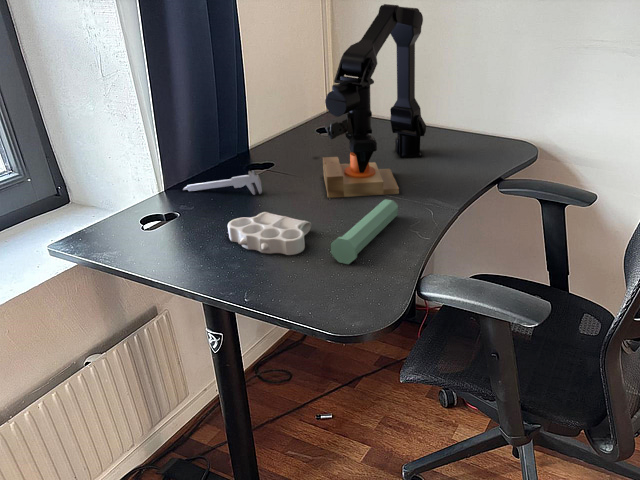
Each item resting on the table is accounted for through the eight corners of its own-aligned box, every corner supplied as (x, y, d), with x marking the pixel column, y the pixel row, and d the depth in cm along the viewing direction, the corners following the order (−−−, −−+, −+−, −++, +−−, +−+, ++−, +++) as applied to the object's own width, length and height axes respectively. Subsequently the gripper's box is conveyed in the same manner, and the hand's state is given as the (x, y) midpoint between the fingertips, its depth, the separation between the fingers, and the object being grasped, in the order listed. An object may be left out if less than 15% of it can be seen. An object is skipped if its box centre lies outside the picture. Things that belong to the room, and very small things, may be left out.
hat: (373, 166, 162) (372, 147, 159) (377, 177, 155) (377, 157, 152) (342, 167, 160) (342, 148, 158) (346, 179, 154) (345, 159, 151)
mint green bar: (385, 190, 141) (335, 232, 122) (406, 203, 141) (360, 247, 121) (376, 210, 145) (326, 254, 125) (397, 223, 144) (350, 269, 125)
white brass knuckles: (324, 234, 135) (287, 263, 124) (256, 218, 142) (215, 245, 130) (323, 220, 134) (286, 248, 122) (254, 205, 140) (213, 231, 128)
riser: (390, 173, 167) (390, 154, 164) (399, 193, 155) (399, 173, 152) (323, 177, 164) (322, 157, 161) (327, 197, 152) (326, 176, 149)
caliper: (262, 193, 154) (260, 169, 151) (261, 195, 153) (258, 171, 150) (184, 189, 156) (179, 165, 152) (182, 191, 155) (178, 167, 151)
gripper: (322, 97, 155) (325, 156, 163) (328, 118, 140) (331, 182, 148) (366, 95, 157) (367, 154, 165) (376, 116, 141) (377, 180, 150)
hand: (360, 167), depth 157 cm, fingers open, 7 cm apart
